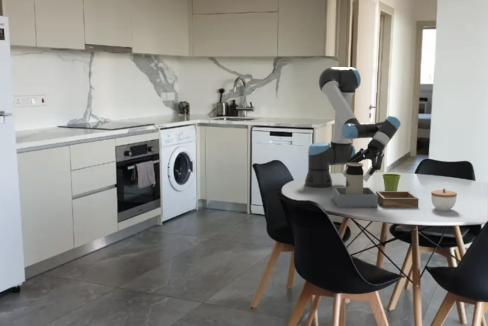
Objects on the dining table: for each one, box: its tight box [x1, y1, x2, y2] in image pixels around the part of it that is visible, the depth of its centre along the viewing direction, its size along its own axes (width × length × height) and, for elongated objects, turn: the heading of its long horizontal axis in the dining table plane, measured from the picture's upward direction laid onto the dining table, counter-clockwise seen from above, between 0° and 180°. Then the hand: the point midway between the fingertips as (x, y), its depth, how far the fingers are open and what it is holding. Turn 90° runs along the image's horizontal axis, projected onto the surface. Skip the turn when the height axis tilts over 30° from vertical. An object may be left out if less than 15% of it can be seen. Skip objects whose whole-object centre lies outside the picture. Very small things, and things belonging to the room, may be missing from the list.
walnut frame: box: [375, 190, 420, 208], centre depth 254 cm, size 16×16×4 cm
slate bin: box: [332, 186, 379, 209], centre depth 253 cm, size 18×18×6 cm
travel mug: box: [345, 162, 365, 195], centre depth 252 cm, size 8×8×18 cm
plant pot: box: [381, 173, 401, 191], centre depth 280 cm, size 9×9×9 cm
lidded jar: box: [430, 188, 458, 212], centre depth 241 cm, size 11×11×9 cm
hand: (354, 177), depth 251 cm, fingers open, 13 cm apart
